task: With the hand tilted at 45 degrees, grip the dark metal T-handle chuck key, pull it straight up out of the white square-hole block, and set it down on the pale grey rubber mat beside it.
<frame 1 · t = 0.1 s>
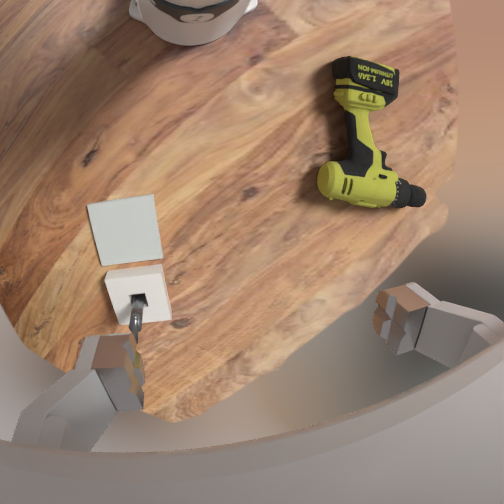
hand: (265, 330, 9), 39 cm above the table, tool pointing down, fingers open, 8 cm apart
rubber mat: (125, 230, 46), on the table
white square-hole block: (140, 291, 52), on the table
cordless drill: (378, 137, 48), on the table
chuck key: (137, 309, 47), in the white square-hole block
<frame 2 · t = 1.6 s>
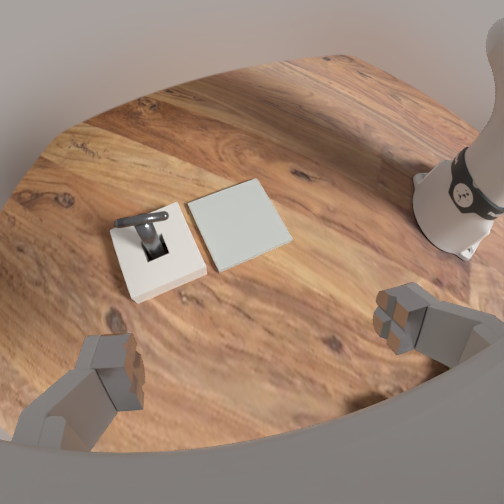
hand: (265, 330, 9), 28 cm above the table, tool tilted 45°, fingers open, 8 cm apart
rubber mat: (238, 223, 42), on the table
white square-hole block: (158, 256, 39), on the table
chuck key: (150, 239, 34), in the white square-hole block
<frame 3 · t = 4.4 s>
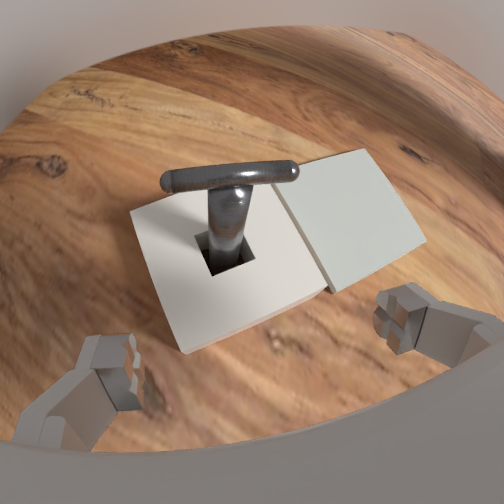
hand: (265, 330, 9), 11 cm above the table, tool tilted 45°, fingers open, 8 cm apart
rubber mat: (351, 212, 25), on the table
white square-hole block: (223, 263, 22), on the table
chuck key: (226, 229, 17), in the white square-hole block
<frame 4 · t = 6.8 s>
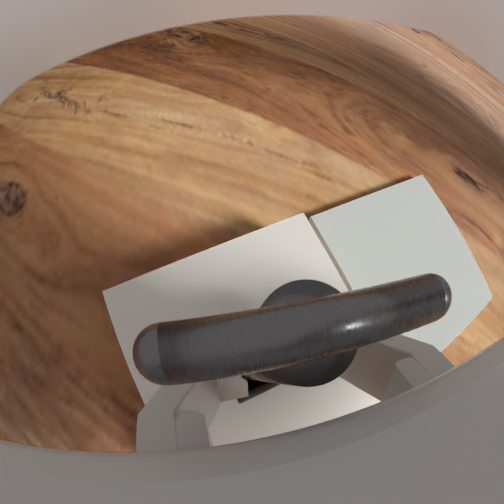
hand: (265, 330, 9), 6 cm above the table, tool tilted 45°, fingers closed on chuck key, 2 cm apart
rubber mat: (414, 267, 18), on the table
white square-hole block: (248, 358, 14), on the table
chuck key: (267, 351, 9), in the white square-hole block, touching gripper
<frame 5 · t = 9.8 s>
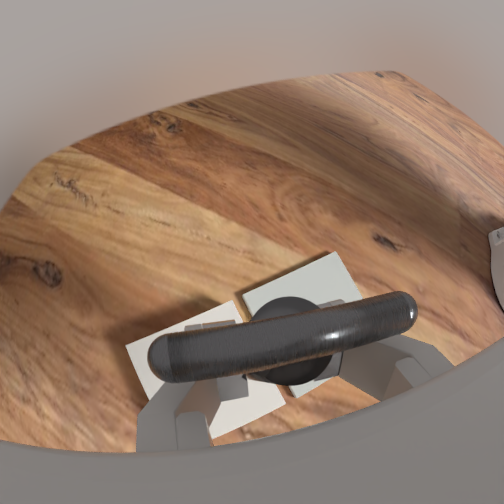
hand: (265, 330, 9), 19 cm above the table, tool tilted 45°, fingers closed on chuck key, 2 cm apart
rubber mat: (316, 322, 29), on the table
white square-hole block: (204, 377, 25), on the table
chuck key: (261, 354, 10), point 17 cm above the table, touching gripper
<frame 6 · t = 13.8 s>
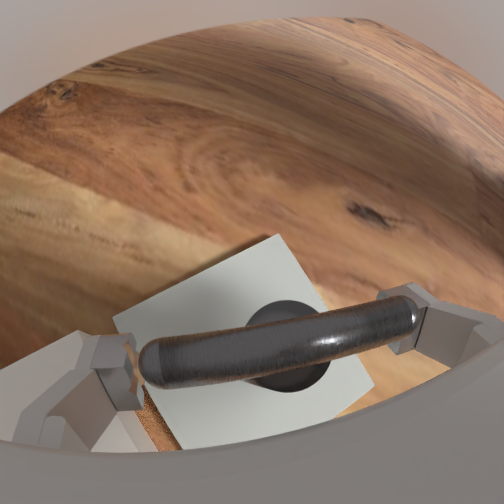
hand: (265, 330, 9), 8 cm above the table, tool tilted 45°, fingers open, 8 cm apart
rubber mat: (245, 360, 16), on the table
white square-hole block: (71, 442, 12), on the table
chuck key: (258, 357, 10), on the rubber mat, point 6 cm above the table
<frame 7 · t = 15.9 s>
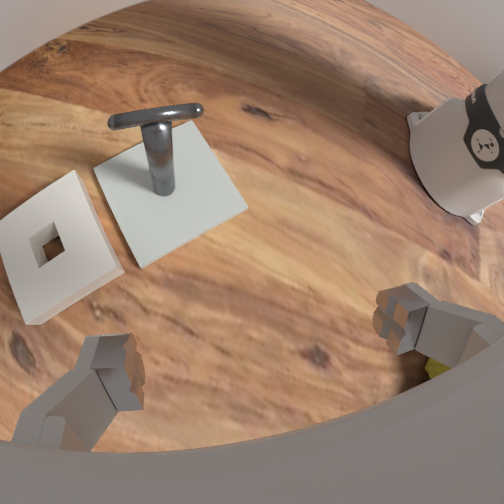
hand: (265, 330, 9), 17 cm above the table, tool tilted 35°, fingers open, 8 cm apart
rubber mat: (166, 188, 27), on the table
white square-hole block: (59, 251, 24), on the table
cordless drill: (440, 433, 28), on the table
chuck key: (160, 156, 21), on the rubber mat, point 6 cm above the table
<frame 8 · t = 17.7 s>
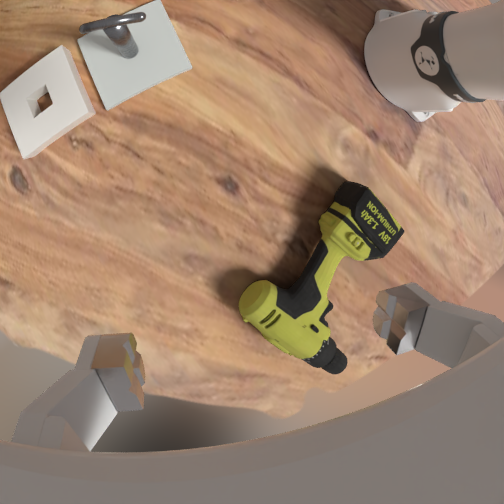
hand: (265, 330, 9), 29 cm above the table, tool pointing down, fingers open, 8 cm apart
rubber mat: (132, 52, 27), on the table
white square-hole block: (49, 102, 27), on the table
cordless drill: (335, 285, 46), on the table
chuck key: (121, 38, 22), on the rubber mat, point 6 cm above the table
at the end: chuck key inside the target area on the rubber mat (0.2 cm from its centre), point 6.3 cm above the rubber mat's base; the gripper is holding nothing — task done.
